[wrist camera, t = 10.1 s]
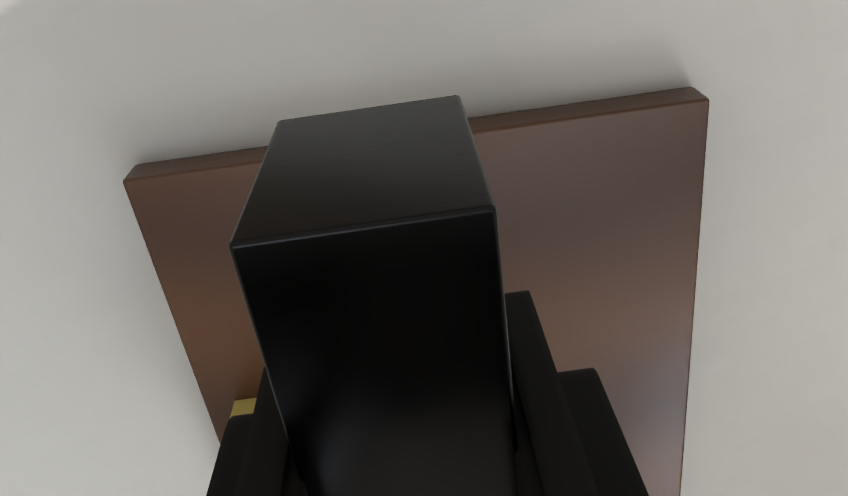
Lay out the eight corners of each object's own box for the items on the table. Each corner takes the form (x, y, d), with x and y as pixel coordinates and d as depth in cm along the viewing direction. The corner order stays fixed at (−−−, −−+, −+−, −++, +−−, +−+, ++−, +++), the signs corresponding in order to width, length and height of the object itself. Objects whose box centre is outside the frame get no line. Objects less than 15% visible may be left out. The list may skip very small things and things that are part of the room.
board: (134, 163, 20) (120, 180, 19) (693, 85, 20) (711, 98, 19) (289, 597, 30) (286, 624, 29) (664, 550, 29) (675, 575, 28)
